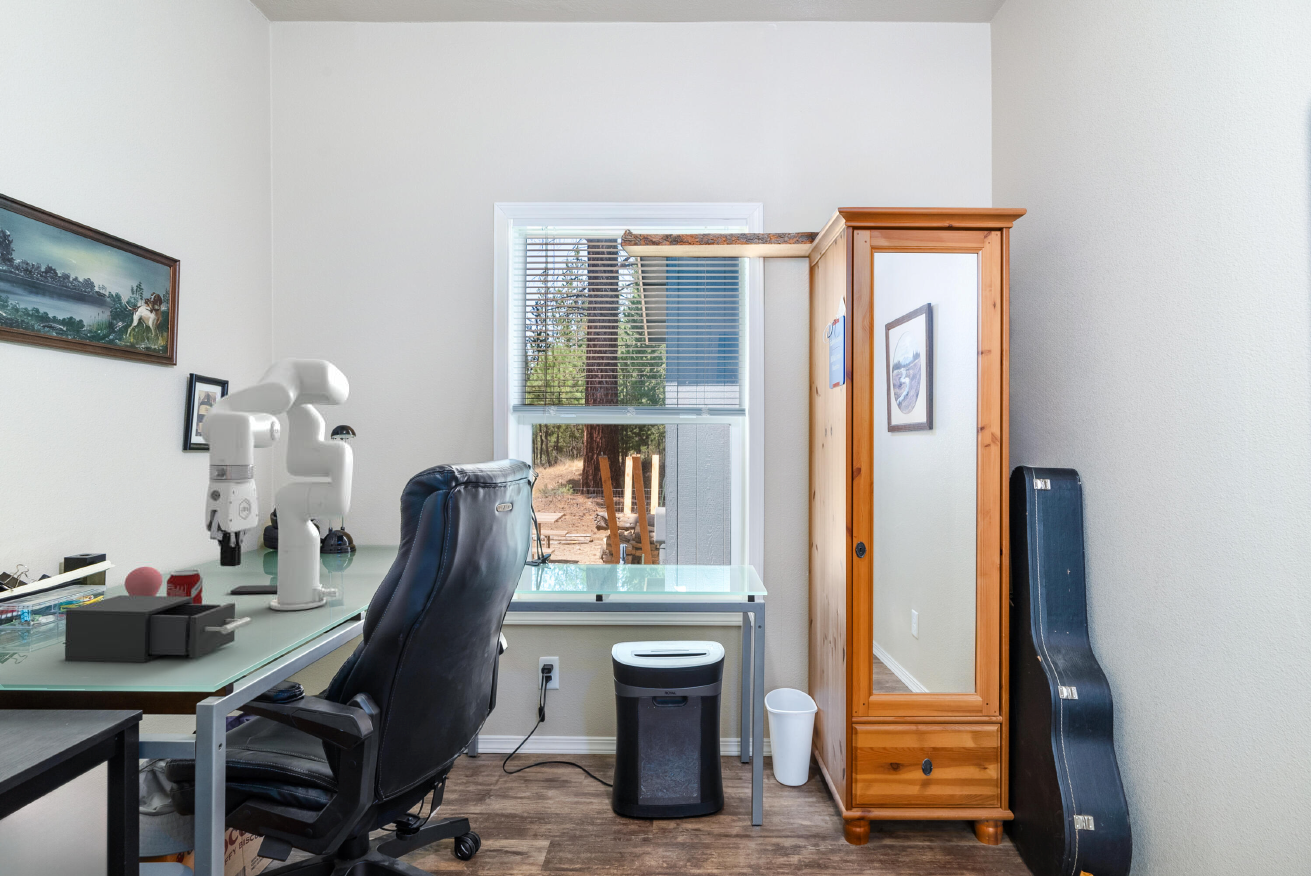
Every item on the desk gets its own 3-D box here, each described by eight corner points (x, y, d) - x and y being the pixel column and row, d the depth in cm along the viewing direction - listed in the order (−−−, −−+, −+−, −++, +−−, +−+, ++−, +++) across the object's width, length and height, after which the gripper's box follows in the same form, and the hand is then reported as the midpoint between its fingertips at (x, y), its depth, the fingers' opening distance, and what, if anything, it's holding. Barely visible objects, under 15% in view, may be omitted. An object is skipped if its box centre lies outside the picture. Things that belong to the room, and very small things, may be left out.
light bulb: (116, 619, 159) (117, 568, 159) (149, 612, 166) (150, 563, 166) (136, 623, 157) (137, 570, 157) (168, 616, 163) (169, 565, 163)
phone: (288, 590, 189) (229, 591, 186) (288, 593, 189) (228, 594, 186) (297, 584, 196) (240, 585, 193) (297, 587, 196) (240, 588, 193)
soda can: (183, 629, 152) (184, 575, 152) (158, 627, 153) (159, 573, 153) (209, 621, 159) (210, 569, 159) (184, 619, 160) (185, 568, 160)
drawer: (257, 641, 141) (257, 603, 141) (219, 658, 129) (220, 617, 130) (166, 639, 142) (166, 601, 142) (121, 656, 130) (121, 615, 130)
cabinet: (192, 643, 142) (192, 596, 142) (144, 662, 129) (145, 611, 129) (119, 641, 143) (120, 595, 143) (64, 660, 130) (65, 609, 130)
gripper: (225, 476, 129) (224, 573, 129) (272, 472, 144) (271, 559, 144) (186, 475, 130) (185, 572, 130) (237, 471, 144) (236, 558, 145)
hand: (230, 565), depth 137 cm, fingers closed
